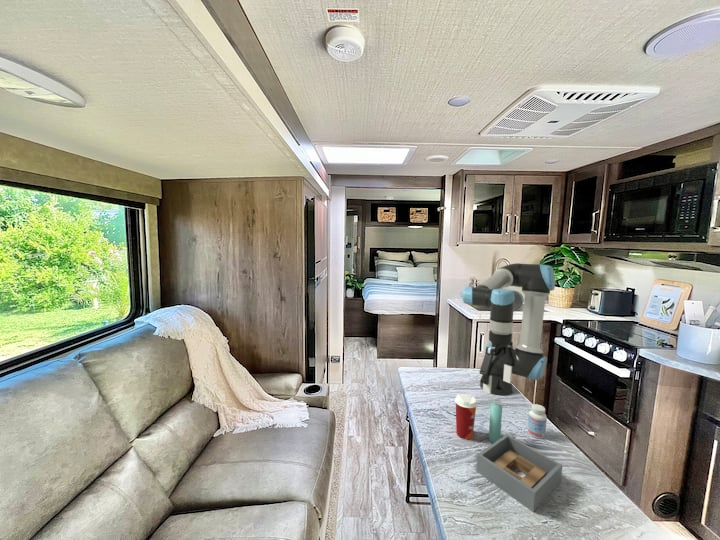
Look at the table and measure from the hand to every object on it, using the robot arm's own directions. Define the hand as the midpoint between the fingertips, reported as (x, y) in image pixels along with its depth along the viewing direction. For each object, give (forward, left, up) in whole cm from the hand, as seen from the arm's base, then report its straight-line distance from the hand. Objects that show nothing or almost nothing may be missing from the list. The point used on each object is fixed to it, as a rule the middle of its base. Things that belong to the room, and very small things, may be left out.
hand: (497, 386), depth 111 cm
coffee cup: (+6, -9, -22) cm, 24 cm away
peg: (0, 0, -22) cm, 22 cm away
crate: (+10, +14, -22) cm, 28 cm away
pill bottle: (-17, +7, -22) cm, 29 cm away
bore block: (+10, +14, -22) cm, 28 cm away
